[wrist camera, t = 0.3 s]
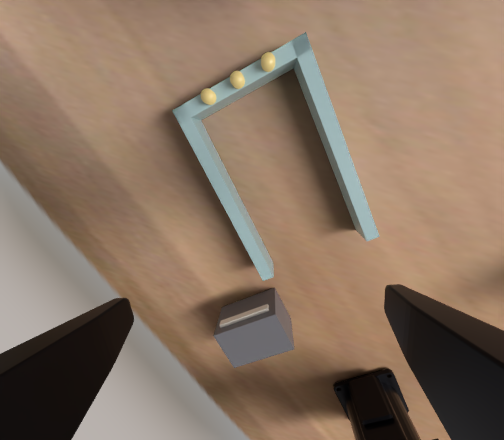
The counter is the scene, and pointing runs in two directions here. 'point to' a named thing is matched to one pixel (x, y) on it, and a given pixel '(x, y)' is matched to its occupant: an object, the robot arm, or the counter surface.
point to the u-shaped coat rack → (324, 118)
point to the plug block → (254, 328)
